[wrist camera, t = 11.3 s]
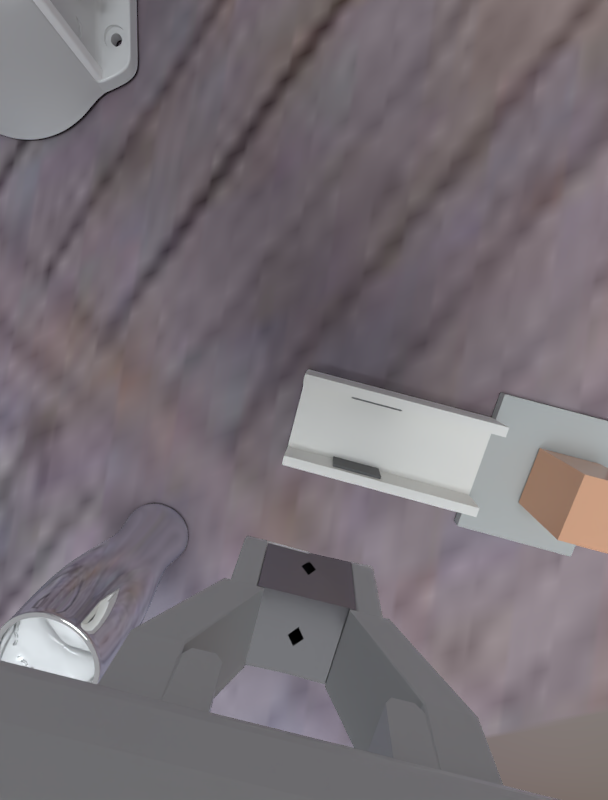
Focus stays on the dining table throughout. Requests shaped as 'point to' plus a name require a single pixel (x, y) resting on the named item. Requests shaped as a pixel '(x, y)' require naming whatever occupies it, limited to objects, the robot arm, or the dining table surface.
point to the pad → (528, 467)
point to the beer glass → (96, 599)
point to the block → (569, 499)
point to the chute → (389, 441)
